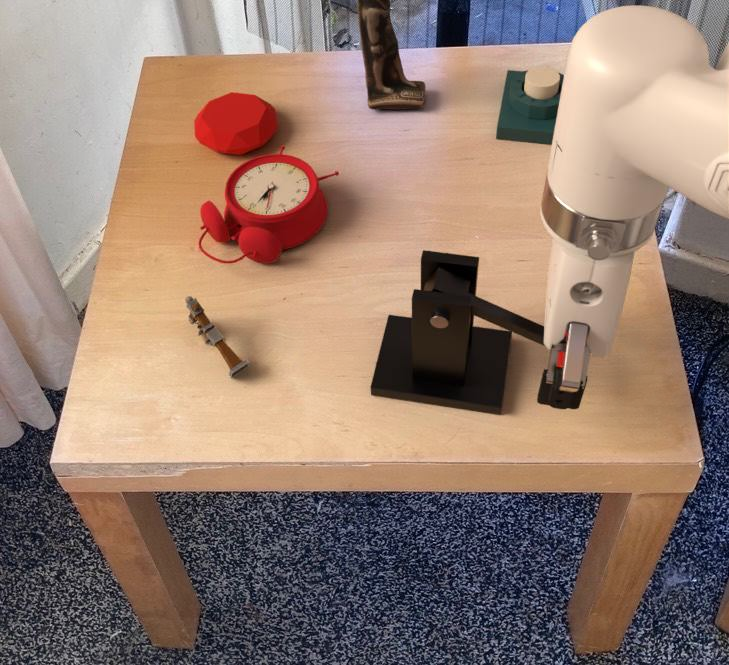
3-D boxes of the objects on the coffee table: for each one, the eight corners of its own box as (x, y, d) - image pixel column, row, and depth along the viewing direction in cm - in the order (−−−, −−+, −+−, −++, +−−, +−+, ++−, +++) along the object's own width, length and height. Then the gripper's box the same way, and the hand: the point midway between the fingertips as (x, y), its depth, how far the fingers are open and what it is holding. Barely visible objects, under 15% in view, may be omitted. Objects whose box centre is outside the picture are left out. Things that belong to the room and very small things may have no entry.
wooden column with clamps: (194, 306, 78) (195, 288, 74) (245, 375, 77) (250, 361, 73) (177, 316, 77) (178, 298, 73) (228, 386, 76) (232, 372, 72)
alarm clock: (353, 170, 84) (252, 236, 75) (348, 222, 88) (252, 291, 79) (272, 133, 88) (167, 191, 79) (271, 185, 92) (171, 246, 83)
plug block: (577, 88, 96) (582, 62, 93) (571, 146, 90) (576, 120, 87) (506, 82, 97) (508, 55, 95) (495, 139, 91) (498, 112, 89)
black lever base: (511, 339, 75) (524, 247, 66) (500, 415, 71) (513, 328, 61) (388, 322, 77) (385, 231, 68) (370, 395, 72) (363, 308, 63)
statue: (425, 113, 95) (427, -62, 79) (362, 115, 95) (351, -59, 79) (425, 90, 97) (426, -85, 81) (363, 91, 98) (352, -82, 82)
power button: (559, 81, 92) (561, 67, 91) (556, 101, 90) (558, 88, 88) (525, 78, 93) (527, 64, 91) (522, 98, 90) (523, 85, 89)
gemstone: (196, 114, 96) (190, 92, 94) (274, 103, 97) (271, 81, 95) (199, 166, 91) (193, 145, 89) (282, 155, 92) (278, 132, 89)
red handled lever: (569, 332, 70) (586, 318, 69) (564, 382, 67) (582, 368, 66) (427, 270, 68) (441, 253, 66) (417, 318, 65) (430, 302, 63)
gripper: (660, 310, 50) (604, 454, 63) (661, 120, 60) (613, 279, 73) (530, 293, 51) (503, 437, 64) (553, 109, 61) (526, 268, 74)
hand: (562, 353), depth 69 cm, fingers open, 9 cm apart
